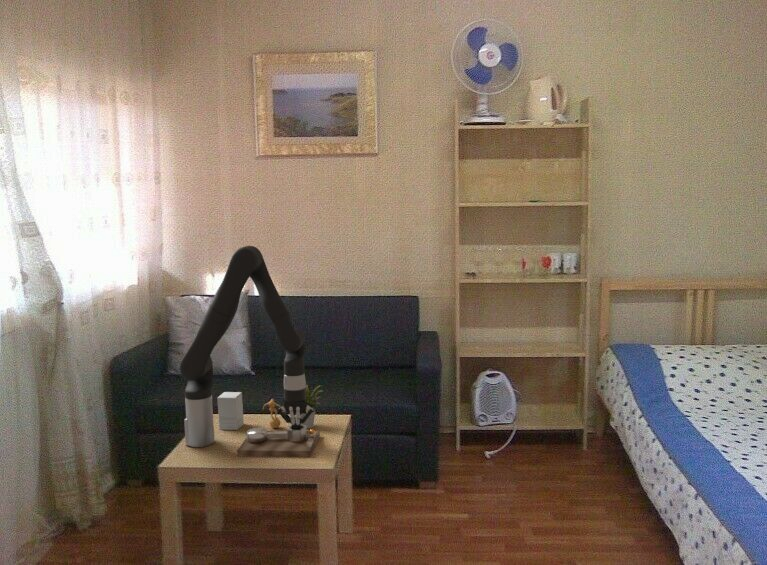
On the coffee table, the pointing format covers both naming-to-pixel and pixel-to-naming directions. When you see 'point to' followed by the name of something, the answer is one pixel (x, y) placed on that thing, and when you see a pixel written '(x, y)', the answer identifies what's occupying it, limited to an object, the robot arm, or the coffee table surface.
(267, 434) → the baby rattle
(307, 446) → the stand base
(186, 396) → the robot arm
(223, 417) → the supplement box
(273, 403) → the figurine
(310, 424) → the house plant
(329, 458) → the coffee table surface
